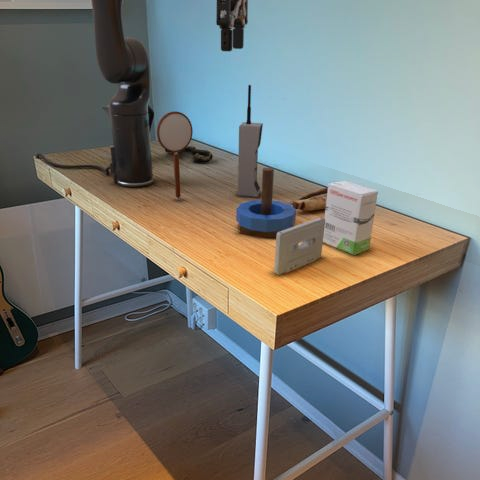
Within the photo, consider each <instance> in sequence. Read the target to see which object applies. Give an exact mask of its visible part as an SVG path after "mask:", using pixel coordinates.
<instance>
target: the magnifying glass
mask: <svg viewBox="0 0 480 480" xmlns="http://www.w3.org/2000/svg"><path fill="white" fill-rule="evenodd" d="M158 121H159V122H158V124H157V126H156V138H157V141H158V144H159V145H160V146H161V147H162V148H163V149H164V150H165V149H166V150H167V151H170V152H171V153H173V172H174V173H173V174H174V192H175V197H176V201H178V202H179V201H180V200H181V195H182V194H181V177H180V172H181V171H180V154H179V153H180V152H179V151H182V150H183V149H185V148H186V147H187V146H190V143H191V141H192V139H193V134H194V133H193V132H194V131H193V125H192V122H191V120H190V119H189V117H188V116H187V115H186V114H184V112H181V111H177V110H176V111H170V112H167V113H166V114H164V115H162V117H161V119H159V120H158Z"/></svg>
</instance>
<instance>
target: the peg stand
mask: <svg viewBox="0 0 480 480" xmlns="http://www.w3.org/2000/svg"><path fill="white" fill-rule="evenodd" d="M274 174H275V169H274V168H273V167H263V168H262V178H261V180H262V182H261V199H260V200H261V215H271V212H272V200H273V195H274V194H273V193H274V191H273V190H274V176H275V175H274ZM285 230H286V229H285ZM282 231H283V230H282ZM278 232H280V231H273V232H262V231H255V230H250V229H247V228H245V227H242V226H240V225H239V233H238V234H240V235H249V236H255V237H256V236H257V237H264V238H272V239H276V235H277V233H278Z"/></svg>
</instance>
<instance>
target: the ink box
mask: <svg viewBox="0 0 480 480" xmlns="http://www.w3.org/2000/svg"><path fill="white" fill-rule="evenodd" d="M327 188H328V192H327V194H326V195H327V200H326V208H325V209H324V218H325V228H324V236H323V244H327V245H329V246H331V247H334V248H336V249H338V250H341V251H343V252H345V253H347V254H350V255H352V256H356V255H358V254H360V253H363V252H365V251H368V250H370V246H371V238H372V233H373V226H374V220H375V215H376V214H375V213H376V207H377V200H378V196H379V195H378V193H379V191H378V190H376V189H373V188H370V187H366V186H362V185H360V184H357V183H354V182H350V181H347V180H341V181H335V182H331V183H328V184H327Z"/></svg>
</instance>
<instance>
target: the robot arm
mask: <svg viewBox="0 0 480 480" xmlns="http://www.w3.org/2000/svg"><path fill="white" fill-rule="evenodd" d="M123 4H124V0H91V7H92V19H93V34H94V49H95V58H96V59H95V60H96V63H97V67H98V70H99V72H100V74H101V76H102V77H103V78H104V80H106V81H107V82H108V83H109V84H116V85H117V89H116V92H115V94H114V95H113V96H112V97H111V98H110V100H109V102H108V105H109V110H110V117H109V119H110V126H111V135H112V144H111V145H110V146H109V149H110V157H111V162H109V166H106V168H104V167H102V166H100V165H97V164H75V165H74V164H73V165H72V164H71V165H69V164H67V165H66V164H59V163H56V162H54V161H51V160H49V159H47V158H46V157H45V156H44V155H43V154H42V153H37V154H36V156H35V158H36V159H38V158H39V159H40V158H41V159H42V160H43V161H44V162H45V163H48V164H49V165H52V166H55V167H57V168H62V169H63V168H64V169H80V168H82V169H83V168H93V169H99V170H100V171H101V172H103V173H104V174H105V175H106V176H109V175H110V174H111V175H113V183H114V184H115V185H116V184H117V185H118V186H121V187H127V188H141V187H147V186H149V185H152V184H154V173H153V161H152V148H151V135H150V133H151V132H150V133H149V120H148V115H149V114H148V106H149V103H150V100H151V99H150V98H151V81H150V80H151V78H150V77H151V75H150V73H151V72H150V61H149V60H150V59H149V56H148V52H147V49H146V47H145V46H144V43H142V42H141V40H139V39H138V38H135V37H131V36H127V37H126V36H125V32H124V25H123ZM248 5H249V0H216V19H215V20H216V21H215V22H216V26H219V28H218V29H220V51H222V52H232V51H233V49H234V50H241V49H244V45H245V43H244V39H245V37H244V36H245V35H244V34H245V28H246V25H248V22H249V20H248V14H249V13H248V10H249V8H248V7H249V6H248ZM109 170H110V171H109Z"/></svg>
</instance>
